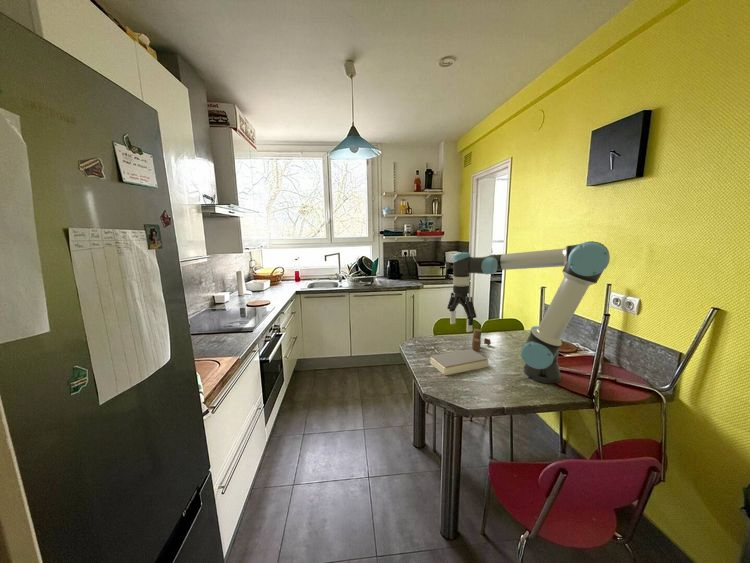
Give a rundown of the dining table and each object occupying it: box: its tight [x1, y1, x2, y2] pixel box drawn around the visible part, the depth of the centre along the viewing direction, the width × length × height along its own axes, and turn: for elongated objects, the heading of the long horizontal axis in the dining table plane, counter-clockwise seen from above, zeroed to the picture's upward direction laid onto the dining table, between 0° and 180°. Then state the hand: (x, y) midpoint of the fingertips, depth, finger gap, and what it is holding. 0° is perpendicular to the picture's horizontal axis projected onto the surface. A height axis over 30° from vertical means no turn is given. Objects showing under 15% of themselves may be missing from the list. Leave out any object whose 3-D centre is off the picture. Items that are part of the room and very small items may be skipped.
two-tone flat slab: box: [429, 348, 489, 376], centre depth 147 cm, size 14×25×4 cm, turn 109°
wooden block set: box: [471, 328, 492, 353], centre depth 166 cm, size 18×9×10 cm, turn 143°
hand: (460, 327), depth 144 cm, fingers open, 13 cm apart
